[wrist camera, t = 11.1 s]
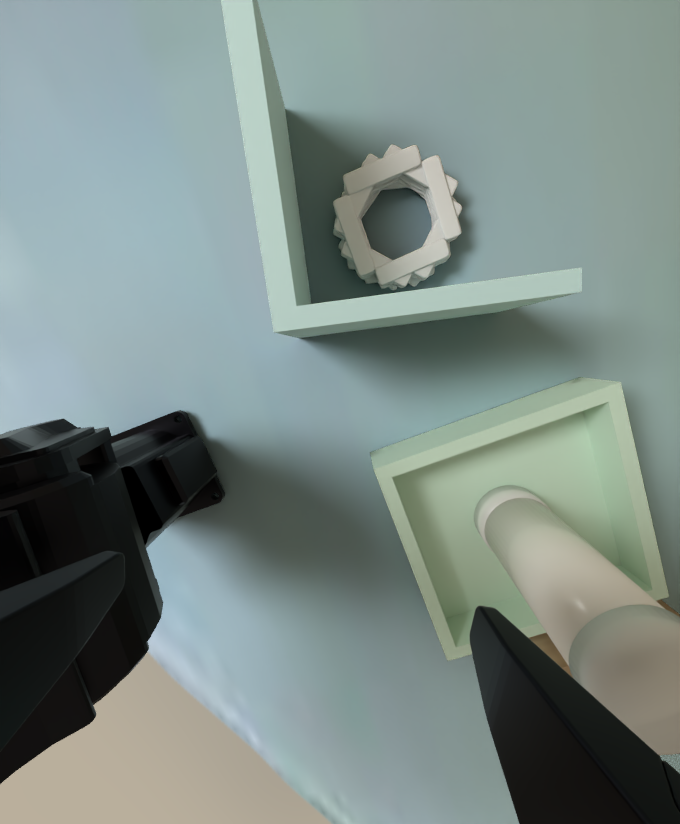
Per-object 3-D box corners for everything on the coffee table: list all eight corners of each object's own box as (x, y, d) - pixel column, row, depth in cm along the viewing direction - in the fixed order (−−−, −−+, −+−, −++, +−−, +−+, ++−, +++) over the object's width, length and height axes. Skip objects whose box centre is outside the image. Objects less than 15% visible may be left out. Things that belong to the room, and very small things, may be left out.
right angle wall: (493, 313, 20) (581, 292, 12) (300, 338, 20) (273, 332, 13) (486, 85, 18) (587, -108, 10) (268, 120, 18) (214, -39, 11)
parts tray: (434, 621, 23) (447, 661, 20) (369, 452, 21) (373, 469, 18) (626, 563, 22) (669, 596, 19) (579, 377, 20) (620, 382, 17)
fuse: (498, 556, 21) (643, 774, 10) (460, 510, 21) (573, 689, 10) (554, 521, 21) (772, 715, 10) (517, 472, 20) (703, 620, 9)
